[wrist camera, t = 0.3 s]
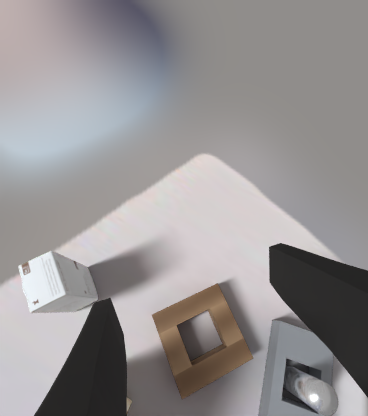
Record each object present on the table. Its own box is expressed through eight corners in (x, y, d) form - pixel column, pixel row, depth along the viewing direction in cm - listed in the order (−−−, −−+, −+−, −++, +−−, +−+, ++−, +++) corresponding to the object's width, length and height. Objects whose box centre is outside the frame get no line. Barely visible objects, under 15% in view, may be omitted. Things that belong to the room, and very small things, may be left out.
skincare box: (100, 298, 37) (70, 295, 26) (73, 313, 36) (29, 316, 25) (87, 264, 39) (54, 247, 28) (60, 278, 38) (15, 265, 27)
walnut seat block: (246, 354, 35) (253, 358, 32) (181, 391, 33) (182, 399, 30) (214, 285, 39) (217, 283, 36) (153, 314, 37) (151, 314, 34)
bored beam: (314, 449, 31) (328, 463, 28) (256, 427, 32) (264, 438, 29) (321, 337, 37) (333, 339, 34) (272, 319, 37) (280, 320, 34)
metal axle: (306, 385, 34) (343, 406, 27) (288, 396, 33) (321, 421, 26) (293, 362, 35) (326, 376, 28) (276, 372, 34) (305, 390, 27)
